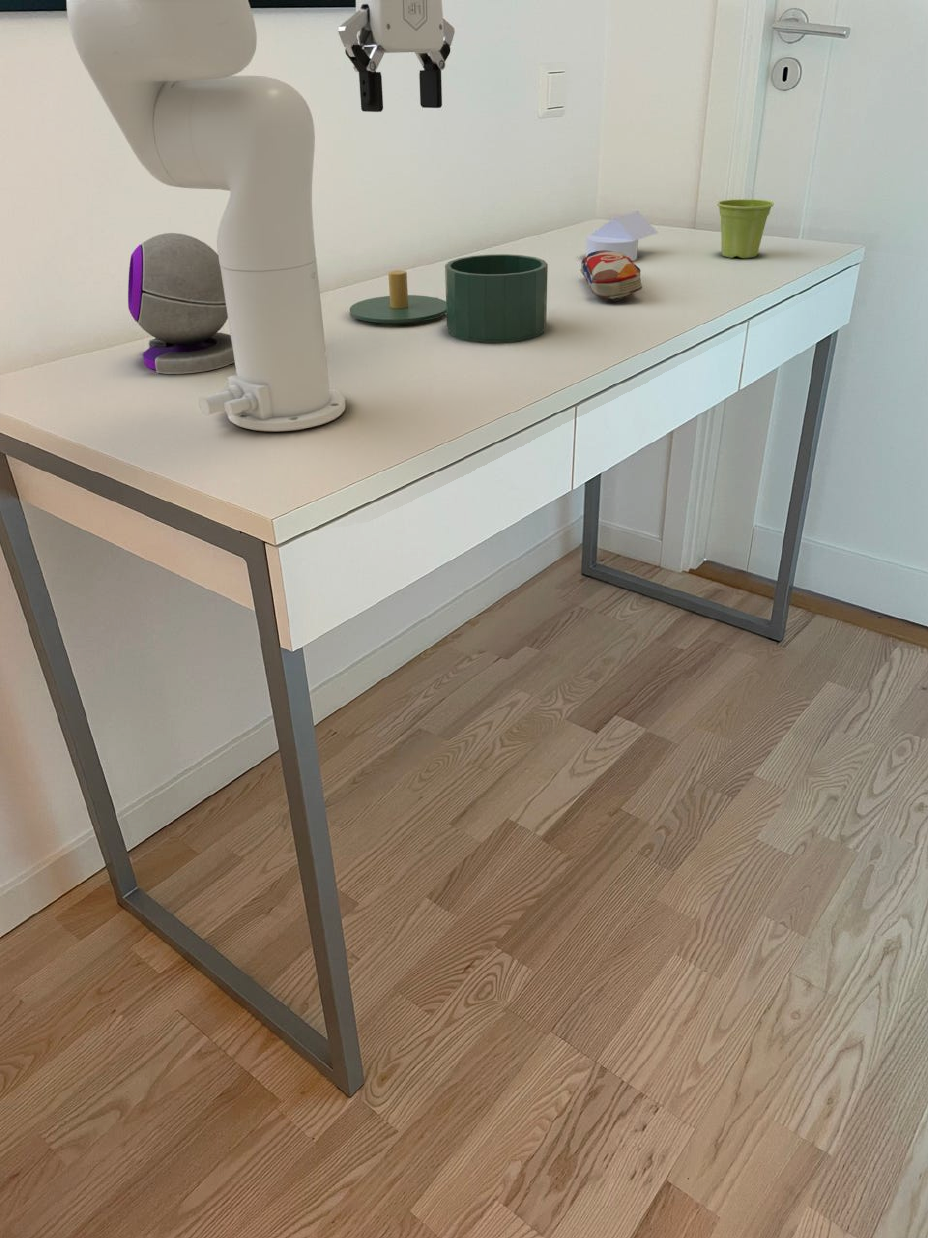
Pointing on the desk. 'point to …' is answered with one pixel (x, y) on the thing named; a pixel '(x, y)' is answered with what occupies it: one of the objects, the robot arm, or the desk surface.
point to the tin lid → (398, 304)
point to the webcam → (179, 304)
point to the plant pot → (742, 226)
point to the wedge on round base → (621, 235)
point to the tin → (496, 298)
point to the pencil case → (611, 274)
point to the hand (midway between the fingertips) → (402, 109)
